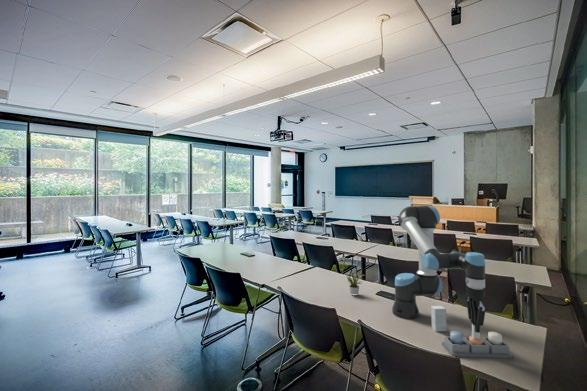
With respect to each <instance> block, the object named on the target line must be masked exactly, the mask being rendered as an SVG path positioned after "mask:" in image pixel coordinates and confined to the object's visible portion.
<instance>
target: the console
mask: <svg viewBox="0 0 587 391" xmlns="http://www.w3.org/2000/svg"><path fill="white" fill-rule="evenodd" d="M481 338H482V340H483V345H472V344H471V343H470V342H469V336H463V344H455V343H453V342H451V341H450V336H444V341H441V346H442V347H443V348H444V349H445V350H446V351H447V352H448V354H449V355H450V356H451V355H452V356H458V358H459V357H462V358H492V359H493V358H496V359H497V358H499V359H501V358H502V359H505V358H506V359H513V358H514V355H513V354H512V353H511V352H510V346H509V345H508V344H507V343H506V342H504V340H502V345H495V344H492V343H490V342H489V341H488V336H486V337H485V336H484V337H481ZM452 356H451V357H452Z"/></svg>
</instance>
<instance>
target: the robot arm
mask: <svg viewBox="0 0 587 391" xmlns="http://www.w3.org/2000/svg"><path fill="white" fill-rule="evenodd" d="M440 222H441V215H440V212H439V211H438V209H437V208H436V207H434V206H432V205H421V206H419V205H416V206H415V205H414V206H412V205H410V206H406V207H404V208H403V209H402V210H401V211H400V213H399V215H398V223H399V225H400V227H401V228H402V230H405V231H406V232H407V234H408V235H409V237H410V238H411V241H412V242H413V243H414V245H415V247H416V248H417V249H418V250H417V251H418V252H417V253H418V270H416V274H414V273H411V272H409V273H408V272H403V273H398V274H397V275H396V276H394V303H393V305H392V307H391V309H392V310H391V311H392V312H391V313H392V314H393V315H395V316H396V317H399V318H402V319H409V320H410V319H412V320H413V319H417V318H419V316H420V310H419V307H418V304H417V301H416V300H417V297H427V296H429V297H432V296H438V295H439V294H441V292H442V289H443V282H442V279H441V277H440V276H439V275H438V273H437V272H436V271H437V270H458V269H459V270H462V271H464V272H465V279H464V280H465V285H466V286H465V294H466V297H465V301H466V309H467V316H468V320H470V323H471V336H472V338H473V339H480V338H481V326H483V327H484V322H485V315H486V312H487V309H488V308H487V307H486V306H484V305H483V304H484V302H483V298H485V297H486V261H485V255H484V254H483V253H482V252H481V253H480V252H474V251H468V252H465V253H464V252H463V253H462V252H460V251H451V252H449V253H445V252H444V253H441V252H440V251H439V250H438V249H437V248H436V246H435V245H434V244H435V242H434V231H435V230H436V229H437V226H438V225H439V223H440ZM435 270H436V271H435ZM467 296H468V297H467Z"/></svg>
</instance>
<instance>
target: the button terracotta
mask: <svg viewBox="0 0 587 391" xmlns="http://www.w3.org/2000/svg"><path fill="white" fill-rule="evenodd" d="M468 337H469V342H470V343H471V344H472V345H483V340H482V337H480V339H473V338H472V335H469V336H468Z"/></svg>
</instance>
